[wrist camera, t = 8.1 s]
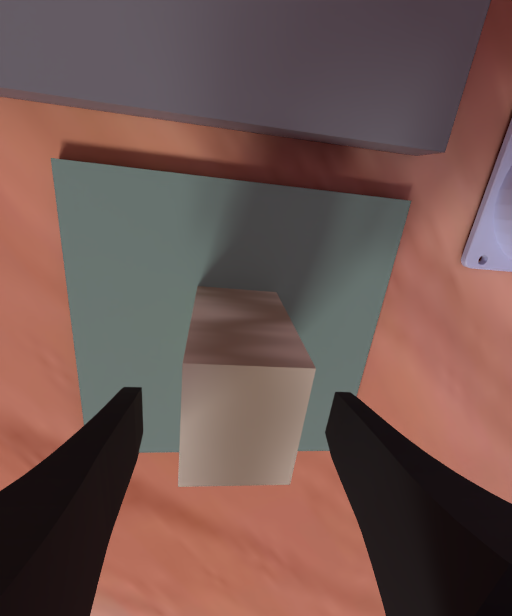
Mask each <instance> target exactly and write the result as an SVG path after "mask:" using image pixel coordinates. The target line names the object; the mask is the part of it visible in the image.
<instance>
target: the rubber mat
mask: <svg viewBox="0 0 512 616" xmlns="http://www.w3.org/2000/svg"><path fill="white" fill-rule="evenodd" d="M51 163H52V171H53V179H54V187H55V195H56V203H57V211H58V219H59V228H60V236H61V244H62V252H63V260H64V268H65V276H66V284H67V292H68V300H69V308H70V316H71V324H72V332H73V340H74V348H75V356H76V364H77V372H78V380H79V388H80V396H81V404H82V412H83V420H84V425H85V424H86V423H87V422H88V421H89V420H91V419H92V418H93V417H94V416H95V415H96V414H97V413H98V412H99V411H100V410H101V409H102V408H103V407H104V406H105V405H106V404H107V403H108V402H109V401H110V400H111V399H112V398H113V397H114V396H115V395H116V394H117V393H118V392H119V391H120V390H121V389H122V388H123V387H142V406H143V436H142V441H141V445H140V449H139V453H140V452H179V447H180V419H181V392H182V364H183V358H184V353H185V348H186V343H187V338H188V332H189V327H190V322H191V317H192V312H193V307H194V301H195V296H196V291H197V286H203V287H216V288H229V289H242V290H255V291H268V292H277V294H278V296H279V298H280V300H281V302H282V304H283V306H284V308H285V310H286V312H287V314H288V315H289V317H290V319H291V321H292V323H293V325H294V327H295V329H296V331H297V333H298V335H299V337H300V339H301V341H302V343H303V344H304V346H305V348H306V350H307V352H308V354H309V356H310V358H311V360H312V362H313V364H314V366H315V368H316V371H315V375H314V380H313V384H312V389H311V393H310V398H309V402H308V407H307V411H306V415H305V420H304V424H303V429H302V433H301V438H300V442H299V447H298V451H330V450H329V447H328V443H327V439H326V435H325V430H326V426H327V422H328V418H329V414H330V410H331V406H332V402H333V398H334V394H335V392H351V393H352V394H353V395H355V396H357V392H358V389H359V385H360V382H361V378H362V375H363V371H364V367H365V364H366V360H367V357H368V353H369V350H370V346H371V343H372V339H373V335H374V332H375V328H376V325H377V321H378V318H379V314H380V310H381V307H382V303H383V300H384V296H385V293H386V289H387V286H388V282H389V278H390V275H391V271H392V268H393V264H394V261H395V257H396V254H397V250H398V246H399V243H400V239H401V236H402V232H403V229H404V225H405V222H406V218H407V214H408V211H409V207H410V204H411V201H408V200H400V199H392V198H383V197H375V196H366V195H358V194H350V193H341V192H333V191H324V190H316V189H307V188H299V187H291V186H282V185H274V184H265V183H257V182H249V181H240V180H232V179H223V178H215V177H206V176H198V175H190V174H181V173H173V172H164V171H156V170H148V169H139V168H131V167H122V166H114V165H105V164H97V163H89V162H80V161H72V160H63V159H55V158H51Z"/></svg>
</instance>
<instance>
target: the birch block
mask: <svg viewBox="0 0 512 616" xmlns="http://www.w3.org/2000/svg"><path fill="white" fill-rule="evenodd" d="M315 371H316V368H315V366H314V364H313V362H312V360H311V358H310V356H309V354H308V352H307V350H306V348H305V346H304V344H303V343H302V341H301V339H300V337H299V335H298V333H297V331H296V329H295V327H294V325H293V323H292V321H291V319H290V317H289V315H288V314H287V312H286V310H285V308H284V306H283V304H282V302H281V300H280V298H279V296H278V294H277V292H268V291H255V290H242V289H229V288H216V287H203V286H197V291H196V296H195V301H194V307H193V312H192V317H191V322H190V327H189V332H188V338H187V343H186V348H185V353H184V358H183V364H182V392H181V419H180V447H179V475H178V487H189V486H243V485H290V482H291V478H292V473H293V469H294V465H295V460H296V456H297V451H298V447H299V442H300V438H301V433H302V429H303V424H304V420H305V415H306V411H307V407H308V402H309V398H310V393H311V389H312V384H313V380H314V375H315Z"/></svg>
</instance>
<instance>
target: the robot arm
mask: <svg viewBox="0 0 512 616" xmlns="http://www.w3.org/2000/svg"><path fill="white" fill-rule="evenodd" d="M481 256H482V259H481V260H480V262H478V260H479V258H480V257H481ZM461 263H462V265H463V266H466V267H468V268H474V269H485V270H497V271H508V272H512V119H511V122H510V125H509V127H508V130H507V133H506V136H505V138H504V141H503V144H502V147H501V149H500V152H499V155H498V158H497V161H496V163H495V166H494V169H493V172H492V174H491V177H490V180H489V183H488V185H487V188H486V191H485V194H484V197H483V199H482V202H481V205H480V208H479V210H478V213H477V216H476V219H475V221H474V224H473V227H472V230H471V232H470V235H469V238H468V241H467V244H466V246H465V249H464V252H463V255H462V258H461ZM325 435H326V439H327V443H328V447H329V450H330V454H331V457H332V460H333V463H334V465H335V468H336V470H337V473H338V475H339V477H340V480H341V482H342V485H343V487H344V490H345V492H346V494H347V497H348V499H349V502H350V504H351V506H352V509H353V511H354V514H355V516H356V519H357V521H358V524H359V527H360V529H361V532H362V535H363V538H364V541H365V545H366V548H367V551H368V554H369V557H370V561H371V564H372V567H373V571H374V574H375V578H376V581H377V585H378V588H379V592H380V595H381V598H382V602H383V606H384V610H385V613H386V616H512V504H511V503H509V502H507V501H505V500H503V499H501V498H499V497H497V496H496V495H494V494H492V493H490V492H488V491H486V490H485V489H483V488H481V487H480V486H478V485H476V484H474V483H473V482H471V481H469V480H467V479H466V478H464V477H462V476H461V475H459V474H458V473H456V472H454V471H453V470H451V469H450V468H448V467H447V466H445V465H444V464H442V463H441V462H439V461H438V460H436V459H435V458H433V457H432V456H430V455H429V454H427V453H426V452H425V451H423V450H422V449H420V448H419V447H418V446H416V445H415V444H414V443H412V442H411V441H410V440H408V439H407V438H406V437H404V436H403V435H402V434H401V433H399V432H398V431H397V430H396V429H394V428H393V427H392V426H391V425H389V424H388V423H387V422H386V421H385V420H383V419H382V418H381V417H380V416H379V415H377V414H376V413H375V412H374V411H373V410H372V409H370V408H369V407H368V406H367V405H366V404H364V403H363V402H362V401H361V400H360V399H358V398H357V397H356V396H355V395H353V394H352V393H351V392H335V394H334V398H333V402H332V406H331V410H330V414H329V418H328V422H327V426H326V430H325ZM142 436H143V406H142V387H123V388H122V389H121V390H120V391H119V392H118V393H117V394H116V395H115V396H114V397H113V398H112V399H111V400H110V401H109V402H108V403H107V404H106V405H105V406H104V407H103V408H102V409H101V410H100V411H99V412H98V413H97V414H96V415H95V416H94V417H93V418H92V419H91V420H89V421H88V422H87V423H86V424H85V425H84V426H83V427H82V428H81V429H80V430H79V431H78V432H77V433H75V434H74V435H73V436H72V437H71V438H70V439H69V440H67V441H66V442H65V443H64V444H63V445H62V446H60V447H59V448H58V449H57V450H56V451H54V452H53V453H52V454H51V455H50V456H48V457H47V458H46V459H45V460H43V461H42V462H41V463H39V464H38V465H37V466H35V467H34V468H33V469H31V470H30V471H29V472H27V473H26V474H25V475H23V476H22V477H21V478H19V479H18V480H16V481H15V482H13V483H12V484H10V485H9V486H7V487H6V488H4V489H3V490H1V491H0V616H90V613H91V609H92V605H93V601H94V597H95V593H96V589H97V585H98V581H99V577H100V573H101V569H102V565H103V562H104V558H105V554H106V550H107V546H108V543H109V540H110V536H111V533H112V530H113V527H114V524H115V521H116V518H117V516H118V513H119V510H120V507H121V504H122V501H123V499H124V496H125V493H126V490H127V487H128V485H129V482H130V479H131V476H132V473H133V470H134V467H135V464H136V461H137V458H138V454H139V449H140V445H141V441H142Z"/></svg>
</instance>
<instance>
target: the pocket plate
mask: <svg viewBox="0 0 512 616" xmlns="http://www.w3.org/2000/svg"><path fill="white" fill-rule="evenodd" d="M490 2H491V0H0V97H7V98H14V99H21V100H28V101H35V102H42V103H49V104H56V105H63V106H70V107H77V108H84V109H91V110H98V111H105V112H112V113H119V114H126V115H134V116H141V117H148V118H155V119H162V120H169V121H176V122H183V123H190V124H197V125H204V126H211V127H218V128H225V129H232V130H239V131H246V132H253V133H260V134H267V135H274V136H281V137H288V138H295V139H302V140H309V141H316V142H323V143H330V144H337V145H344V146H351V147H358V148H365V149H372V150H379V151H386V152H393V153H400V154H407V155H414V156H419V155H427V154H436V153H444V152H445V150H446V147H447V144H448V140H449V137H450V134H451V130H452V127H453V124H454V121H455V117H456V114H457V111H458V107H459V104H460V101H461V97H462V94H463V91H464V87H465V84H466V81H467V78H468V74H469V71H470V68H471V64H472V61H473V58H474V54H475V51H476V48H477V44H478V41H479V38H480V35H481V31H482V28H483V25H484V21H485V18H486V15H487V11H488V8H489V5H490Z"/></svg>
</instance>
